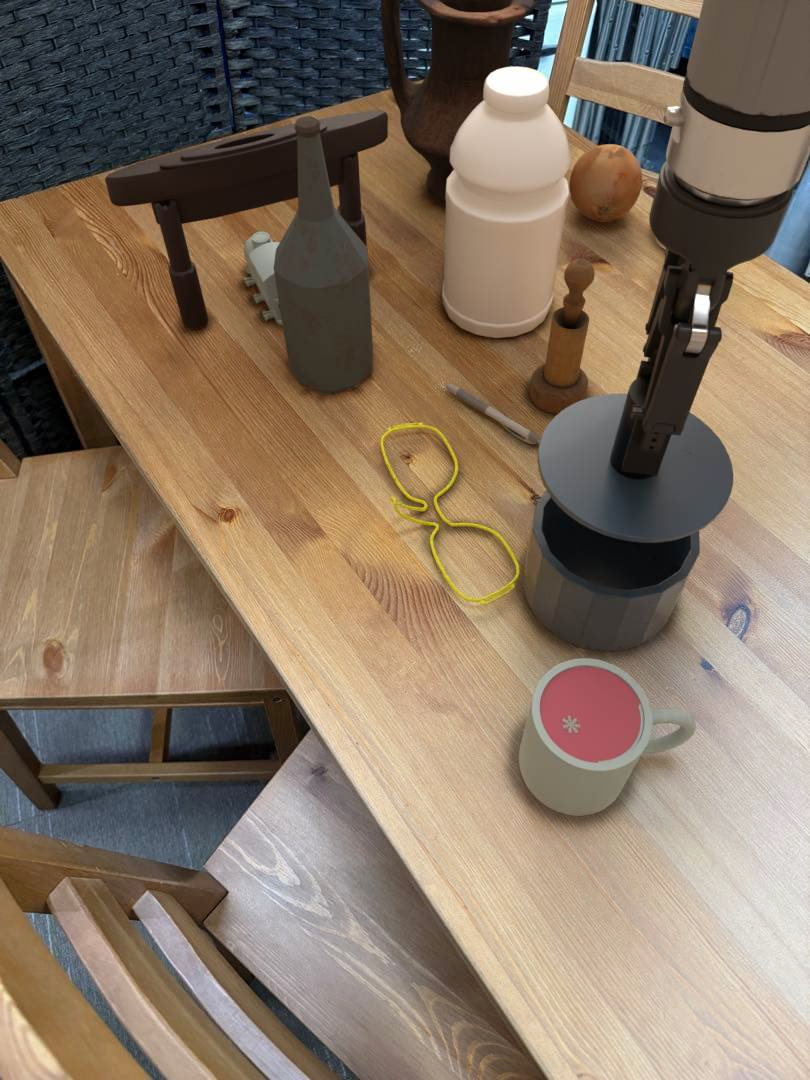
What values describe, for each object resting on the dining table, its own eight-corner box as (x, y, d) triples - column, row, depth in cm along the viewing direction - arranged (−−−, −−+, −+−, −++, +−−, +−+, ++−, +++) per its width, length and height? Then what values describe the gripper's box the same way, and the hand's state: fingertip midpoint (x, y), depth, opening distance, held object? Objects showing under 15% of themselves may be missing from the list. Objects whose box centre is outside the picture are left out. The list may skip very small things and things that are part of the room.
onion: (626, 194, 124) (641, 126, 116) (640, 235, 118) (657, 166, 110) (560, 196, 124) (570, 128, 115) (570, 237, 118) (582, 168, 110)
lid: (725, 415, 74) (759, 336, 67) (732, 561, 65) (772, 488, 58) (545, 392, 75) (558, 313, 68) (527, 531, 66) (541, 456, 59)
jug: (536, 160, 129) (564, -72, 105) (518, 230, 119) (544, -9, 94) (401, 144, 132) (397, -84, 108) (371, 212, 122) (360, -25, 97)
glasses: (533, 592, 83) (538, 565, 80) (440, 625, 81) (441, 598, 78) (433, 421, 97) (433, 390, 93) (351, 445, 95) (349, 415, 91)
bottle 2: (515, 259, 115) (540, 37, 92) (572, 319, 107) (614, 94, 85) (422, 289, 111) (424, 66, 89) (474, 353, 104) (491, 128, 81)
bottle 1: (294, 338, 106) (258, 93, 82) (373, 337, 106) (361, 92, 82) (288, 397, 100) (248, 151, 75) (372, 396, 100) (359, 150, 75)
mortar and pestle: (533, 371, 102) (552, 239, 87) (587, 378, 101) (616, 246, 87) (526, 410, 98) (545, 279, 84) (582, 418, 97) (612, 287, 83)
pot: (673, 537, 87) (698, 477, 80) (673, 662, 79) (701, 609, 71) (530, 517, 89) (541, 456, 81) (515, 638, 80) (526, 583, 73)
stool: (85, 134, 94) (361, 73, 102) (135, 291, 111) (368, 228, 119) (117, 209, 86) (415, 136, 94) (166, 366, 103) (415, 293, 111)
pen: (537, 451, 94) (539, 442, 93) (442, 391, 100) (442, 383, 99) (543, 446, 95) (544, 437, 94) (447, 387, 100) (448, 378, 99)
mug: (526, 818, 70) (541, 774, 62) (512, 714, 76) (524, 661, 68) (690, 809, 71) (726, 764, 63) (665, 706, 76) (694, 652, 68)
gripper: (663, 93, 54) (598, 369, 73) (660, 253, 44) (585, 525, 63) (785, 103, 54) (687, 380, 72) (810, 269, 44) (689, 540, 62)
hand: (640, 447), depth 68 cm, fingers closed on lid, 4 cm apart
